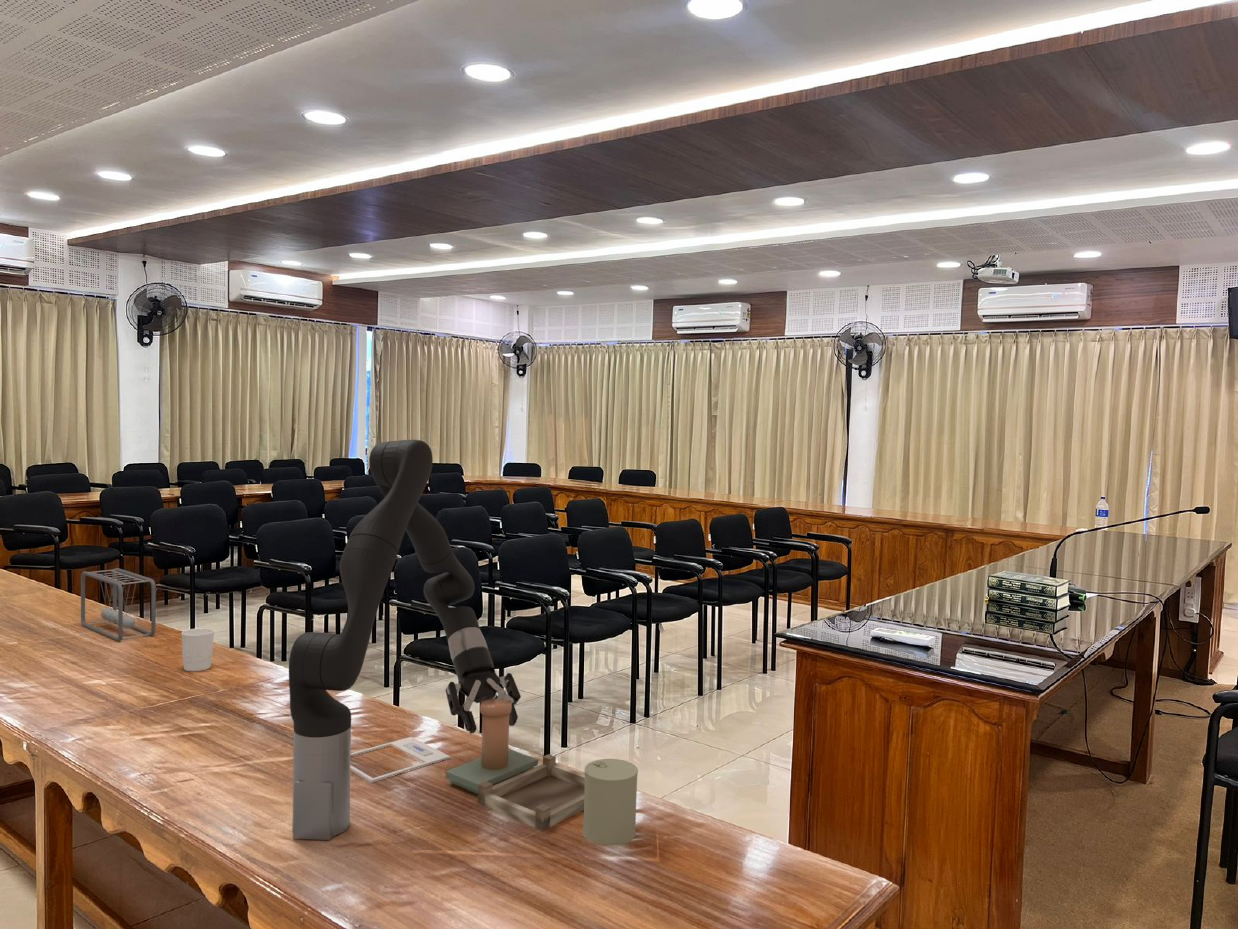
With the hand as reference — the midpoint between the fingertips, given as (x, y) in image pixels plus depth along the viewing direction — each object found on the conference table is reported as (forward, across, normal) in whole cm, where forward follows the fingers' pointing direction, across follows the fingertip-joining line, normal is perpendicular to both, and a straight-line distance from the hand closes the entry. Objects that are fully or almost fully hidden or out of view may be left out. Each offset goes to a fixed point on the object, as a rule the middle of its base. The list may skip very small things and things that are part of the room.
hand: (493, 727), depth 167 cm
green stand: (+7, 0, +7) cm, 10 cm away
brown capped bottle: (+5, 0, +5) cm, 7 cm away
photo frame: (-6, -13, +22) cm, 26 cm away
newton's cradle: (-105, -52, +120) cm, 168 cm away
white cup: (-67, -37, +82) cm, 112 cm away
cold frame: (+17, +4, -2) cm, 17 cm away
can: (+29, +7, -14) cm, 33 cm away
